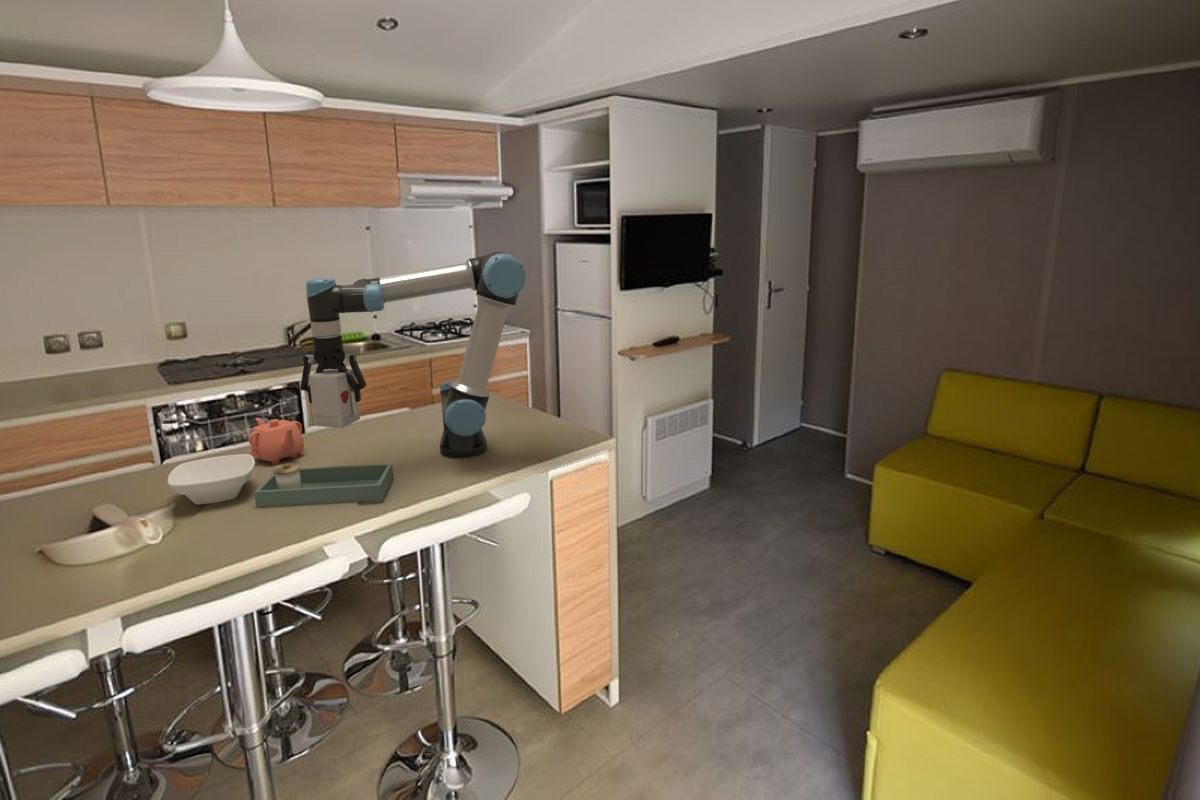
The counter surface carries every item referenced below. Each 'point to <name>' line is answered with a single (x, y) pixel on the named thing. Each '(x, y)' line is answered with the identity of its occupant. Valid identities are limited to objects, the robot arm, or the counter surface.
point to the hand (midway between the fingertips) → (336, 413)
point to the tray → (330, 486)
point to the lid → (286, 468)
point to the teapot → (276, 440)
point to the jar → (289, 481)
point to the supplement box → (332, 398)
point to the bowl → (212, 478)
